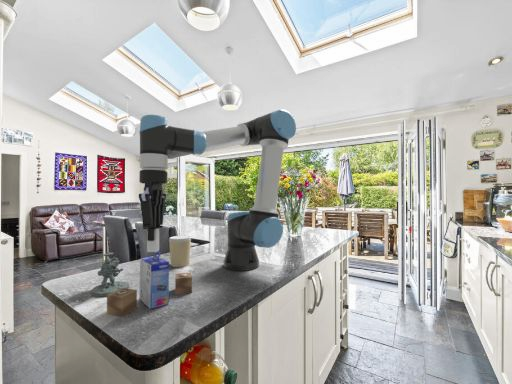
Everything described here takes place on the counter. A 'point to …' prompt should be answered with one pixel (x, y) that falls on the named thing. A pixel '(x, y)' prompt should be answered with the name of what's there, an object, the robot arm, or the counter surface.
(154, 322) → the counter surface
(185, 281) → the walnut cube
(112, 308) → the walnut cube
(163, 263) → the ink cartridge box
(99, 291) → the figurine
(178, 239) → the coffee cup
